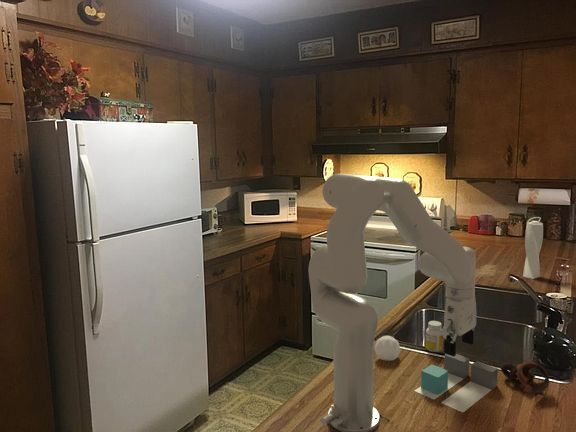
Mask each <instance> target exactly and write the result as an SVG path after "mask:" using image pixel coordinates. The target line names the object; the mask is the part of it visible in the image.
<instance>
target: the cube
mask: <svg viewBox="0 0 576 432" xmlns="http://www.w3.org/2000/svg"><path fill="white" fill-rule="evenodd" d="M420 379H421V380H420V387H421V388H422V389H425V390H427V391H429V392H432V393H434V394H436V395H439V394H440V393H441V392H443V391H444V390H446V389H447V388H448V371H447V370H445V369H444V368H442V367H439V366H437V365H434V364H430V365H428V366H427V367H425V368H424V369H422V370H421V374H420Z"/></svg>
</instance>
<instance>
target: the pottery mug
mask: <svg viewBox="0 0 576 432" xmlns="http://www.w3.org/2000/svg"><path fill="white" fill-rule="evenodd" d="M535 368H536V369H538V370H539V371H540V372H541V373H542V374H543V375H544V380H543V381H542V382H533V381H534V379H535V377H536V375H535V374H534V373H532V372H531V371H530V370H531V369H535ZM499 369H500V371H501V373H502V374H503V375H504V376H505V377H506V378H507V379H508V381H509V382H512V381H513V379H514V380H517V379H518V380H519V382H520V384H521V385H522V386H523V387H524V388H523V389H522V392H524V393H528V394H533V395H534V394H538V393H539V394H540V393H542V392H545V391H546V389H548V387H549V384H550V378H549V373H548V371H547V370H546V368H545V367H543V366H542V365H540V364H539V363H536V362H534V361H525V362H523V363H519V364H513V363H511V362H503V363H502V364H501V365H500V368H499ZM528 380H529V381H532V382H531V384H530V383H528Z"/></svg>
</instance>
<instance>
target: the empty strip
mask: <svg viewBox="0 0 576 432" xmlns="http://www.w3.org/2000/svg"><path fill="white" fill-rule="evenodd" d="M498 373H499V368H498V367H495V366H492V365H489V364H486V363H483V362H480V361H478V360H476V361H474V362H472V363H471V365H470V381H469V382H467V383H466V384H464V386H462V387H461V388H459V389H458V390H456V391H454V393H452V394H451V395H450V396H448V397H447V398H446V399H444V400H443V401H441V404H442V405H444V406H447V407H449V408H452V409H454V410H456V411H458V412H461V413H465V412H466V411H467V410H468V409H470V408H471V407H472V406H473V405H475V404H476V403H477V402H478V401H479V400H481V399H482V398H484V397H485V396H486V395H488V393H490V392H491V391H493V389H495V388H496V387H498Z"/></svg>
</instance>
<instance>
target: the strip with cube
mask: <svg viewBox="0 0 576 432" xmlns="http://www.w3.org/2000/svg"><path fill="white" fill-rule="evenodd" d="M470 359H471V358H469V357H466V356H464V355H460V354H459V353H456V356H454V357H453V356H451V355H448V354H445V353H444V360H443V362H444V363H443V365H444V366H443V367H444V368H443V369H445V370H447V371H448V388H447V389H446V390H444V391H443V392H441V393H440V394H439V395H436V394H434V393H432V392H429V391H427V390H425V389H422V388H421V386H419V387H417V388H416V389H415V390H413V391H414V392H415V393H418V394H420V395H422V396H425V397H428V398H429V399H432V400H436V399H437V398H439V397H440V396H442V395H443V394H444V393H446V392H447V391H448V390H451V388H453V387H455V386H456V385H457V384H458V383H460V382H461V381H463V380H464V379H466V378H467V377H469V375H470V363H471V362H470V361H471V360H470Z"/></svg>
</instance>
